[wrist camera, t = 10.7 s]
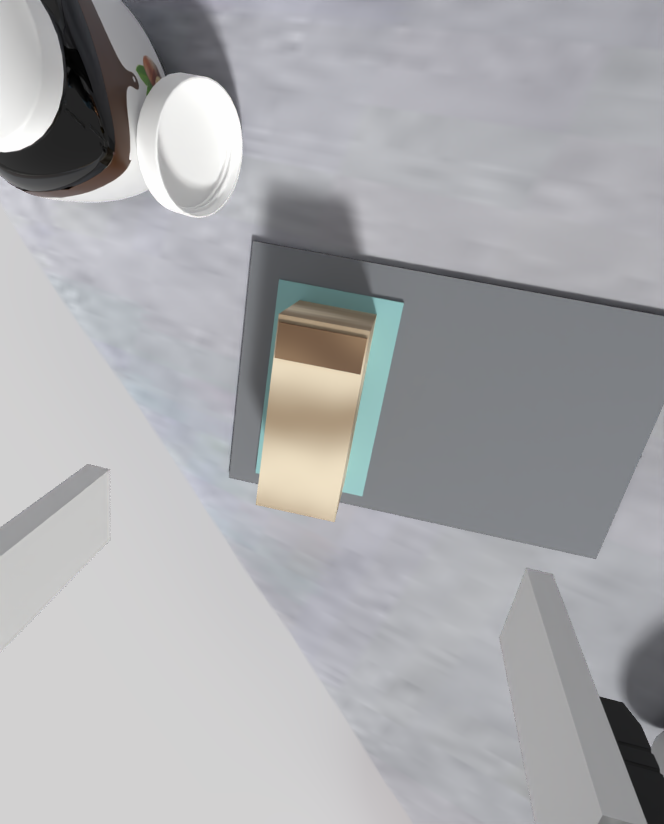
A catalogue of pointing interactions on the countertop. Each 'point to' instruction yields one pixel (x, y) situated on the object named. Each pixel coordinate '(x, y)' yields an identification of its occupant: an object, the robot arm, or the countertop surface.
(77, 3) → the spread jar
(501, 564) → the countertop surface
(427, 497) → the rubber mat
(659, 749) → the donut
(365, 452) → the pad
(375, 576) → the countertop surface
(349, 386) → the birch block
